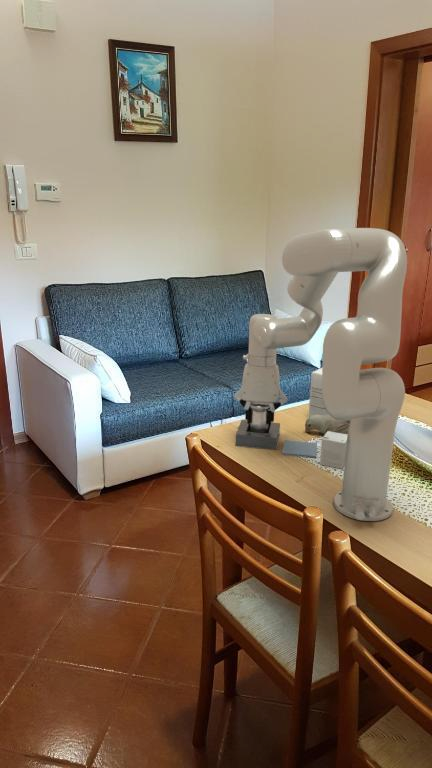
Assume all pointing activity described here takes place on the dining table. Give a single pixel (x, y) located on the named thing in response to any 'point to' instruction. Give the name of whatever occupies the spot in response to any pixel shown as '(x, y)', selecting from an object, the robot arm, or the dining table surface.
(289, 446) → the mat
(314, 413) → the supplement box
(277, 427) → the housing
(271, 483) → the dining table surface
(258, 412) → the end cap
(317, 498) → the dining table surface
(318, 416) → the decorative bird
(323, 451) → the skincare box
